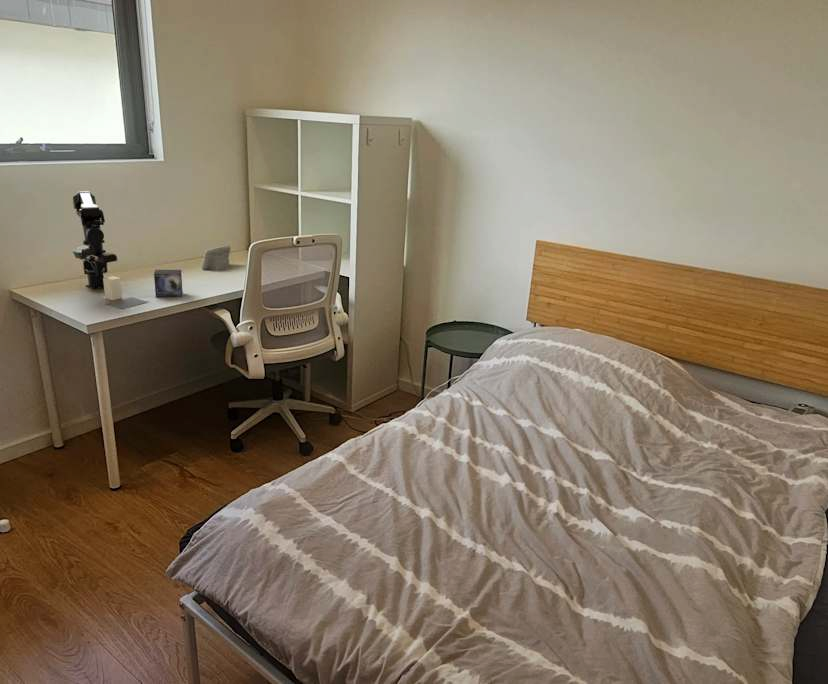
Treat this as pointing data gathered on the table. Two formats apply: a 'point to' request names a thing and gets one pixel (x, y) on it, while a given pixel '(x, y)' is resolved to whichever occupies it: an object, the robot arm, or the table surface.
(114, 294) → the cream block
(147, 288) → the table surface
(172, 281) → the small box
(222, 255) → the digital clock
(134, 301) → the grey rubber mat
